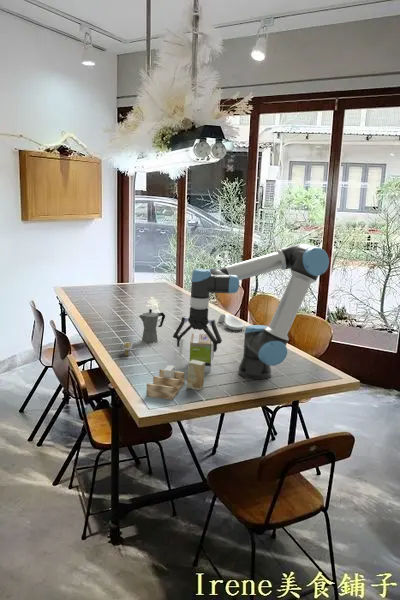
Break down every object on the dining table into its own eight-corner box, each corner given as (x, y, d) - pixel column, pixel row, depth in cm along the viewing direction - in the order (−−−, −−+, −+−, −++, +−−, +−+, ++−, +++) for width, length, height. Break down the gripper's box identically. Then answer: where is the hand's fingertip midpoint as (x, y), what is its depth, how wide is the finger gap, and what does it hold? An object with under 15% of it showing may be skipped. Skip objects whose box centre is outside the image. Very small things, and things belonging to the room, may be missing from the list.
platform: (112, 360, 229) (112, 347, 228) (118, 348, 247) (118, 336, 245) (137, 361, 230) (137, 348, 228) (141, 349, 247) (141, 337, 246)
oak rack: (184, 385, 202) (184, 372, 201) (172, 402, 186) (173, 387, 184) (159, 382, 204) (160, 369, 203) (146, 398, 188) (146, 384, 187)
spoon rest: (248, 331, 289) (248, 320, 288) (231, 333, 284) (232, 321, 282) (228, 321, 310) (229, 311, 308) (212, 323, 304) (213, 312, 303)
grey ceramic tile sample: (174, 383, 201) (174, 365, 200) (170, 388, 196) (170, 370, 194) (167, 382, 202) (168, 365, 200) (163, 387, 196) (163, 369, 194)
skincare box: (186, 389, 198) (187, 362, 195) (190, 386, 202) (191, 359, 199) (200, 392, 196) (201, 364, 193) (204, 388, 200) (205, 361, 197)
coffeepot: (141, 344, 254) (142, 312, 250) (135, 339, 262) (136, 308, 258) (167, 341, 261) (168, 310, 257) (161, 336, 269) (162, 306, 265)
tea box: (190, 361, 232) (191, 332, 229) (210, 362, 232) (212, 333, 229) (188, 372, 217) (190, 342, 214) (210, 373, 217) (212, 343, 214)
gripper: (230, 308, 192) (227, 357, 197) (172, 301, 197) (170, 349, 202) (227, 312, 185) (223, 363, 189) (167, 305, 190) (164, 355, 195)
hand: (196, 356), depth 196 cm, fingers open, 13 cm apart
